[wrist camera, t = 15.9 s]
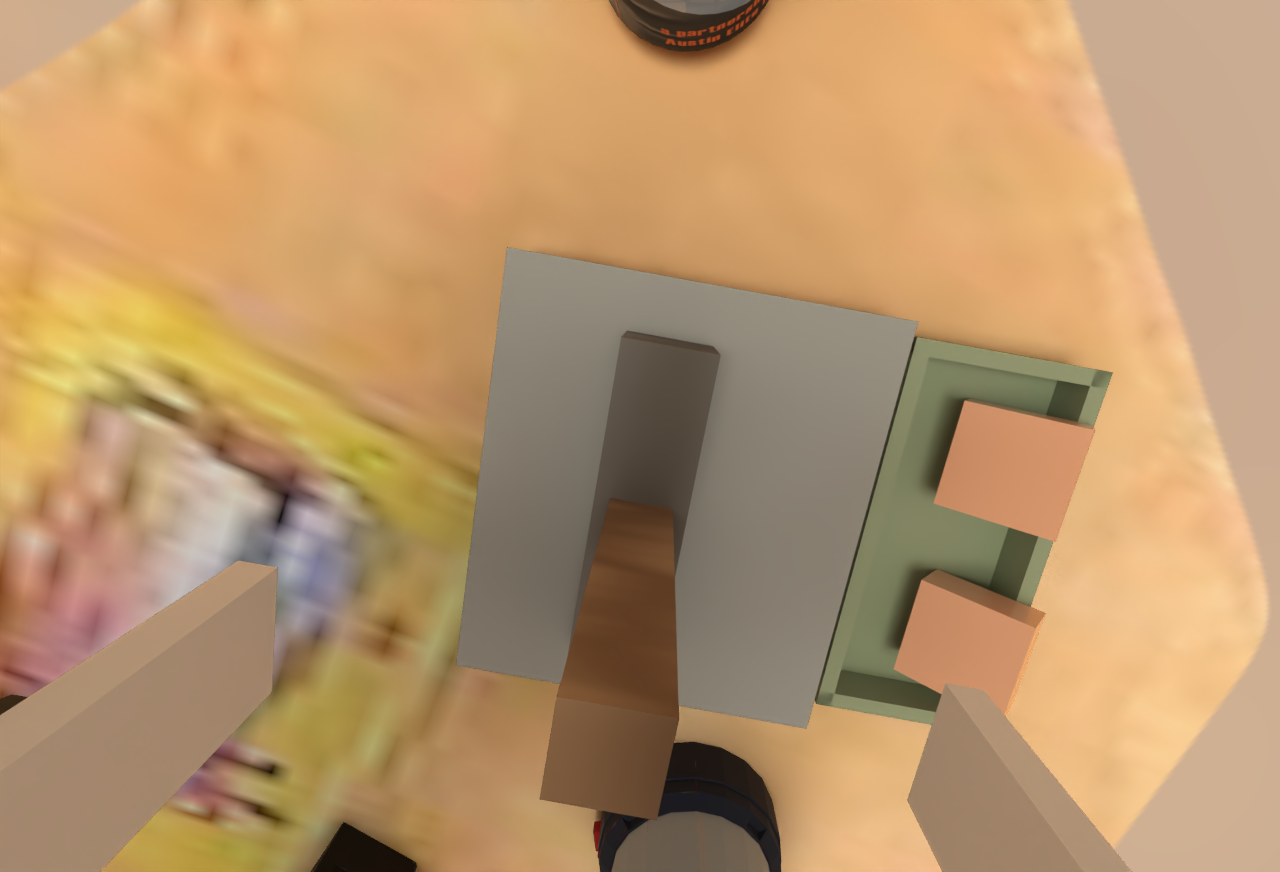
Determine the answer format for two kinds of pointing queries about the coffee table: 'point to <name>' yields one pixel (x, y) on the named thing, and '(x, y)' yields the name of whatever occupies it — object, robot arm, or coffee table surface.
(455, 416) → the coffee table surface
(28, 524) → the coffee table surface
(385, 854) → the digital camera
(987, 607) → the tile
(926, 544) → the box
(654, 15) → the beverage can
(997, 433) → the tile
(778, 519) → the grey flat block
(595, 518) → the scraper
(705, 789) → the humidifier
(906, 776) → the coffee table surface
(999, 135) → the coffee table surface
